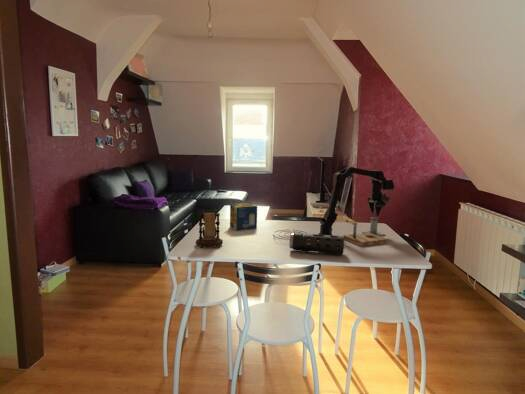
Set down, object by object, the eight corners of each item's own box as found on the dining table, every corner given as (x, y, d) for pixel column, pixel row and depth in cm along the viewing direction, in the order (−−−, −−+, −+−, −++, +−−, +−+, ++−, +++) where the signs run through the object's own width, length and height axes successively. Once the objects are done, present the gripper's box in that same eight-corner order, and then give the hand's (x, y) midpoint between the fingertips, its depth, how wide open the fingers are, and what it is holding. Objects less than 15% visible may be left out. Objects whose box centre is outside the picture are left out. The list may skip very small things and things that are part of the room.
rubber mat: (372, 236, 236) (372, 235, 236) (362, 232, 245) (362, 232, 245) (384, 235, 240) (384, 234, 239) (374, 231, 249) (374, 230, 249)
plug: (372, 234, 239) (374, 219, 237) (367, 232, 243) (368, 217, 242) (379, 233, 241) (380, 218, 239) (374, 232, 245) (375, 217, 244)
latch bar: (356, 238, 221) (357, 222, 219) (353, 238, 221) (354, 222, 219) (344, 230, 240) (345, 215, 238) (342, 230, 239) (343, 215, 238)
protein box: (229, 227, 251) (229, 204, 249) (250, 225, 258) (250, 203, 256) (235, 230, 242) (236, 207, 240) (257, 228, 249) (257, 205, 247)
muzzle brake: (343, 258, 193) (344, 238, 191) (288, 253, 198) (289, 234, 197) (342, 252, 202) (344, 233, 200) (291, 248, 208) (291, 230, 206)
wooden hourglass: (197, 250, 200) (197, 213, 197) (194, 242, 214) (194, 207, 211) (224, 248, 204) (225, 212, 200) (220, 241, 218) (220, 207, 214)
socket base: (359, 246, 214) (360, 242, 213) (343, 239, 228) (343, 235, 228) (387, 243, 222) (387, 239, 221) (369, 236, 236) (370, 232, 236)
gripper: (395, 192, 229) (392, 217, 231) (383, 188, 247) (381, 211, 250) (377, 192, 228) (375, 217, 231) (366, 188, 247) (365, 211, 249)
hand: (374, 214), depth 240 cm, fingers open, 9 cm apart
